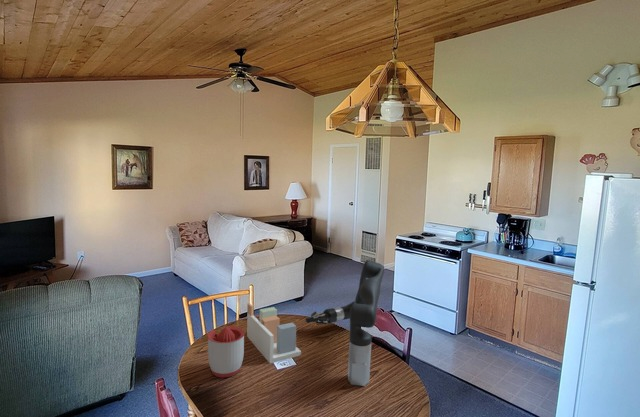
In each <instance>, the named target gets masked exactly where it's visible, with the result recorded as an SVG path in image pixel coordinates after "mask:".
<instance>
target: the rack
mask: <svg viewBox="0 0 640 417" xmlns="http://www.w3.org/2000/svg"><path fill="white" fill-rule="evenodd" d="M253 306H254V305H252V304H251V303H249V302H247V312H246V313H247V316H246V320H247V321H246V324H247V325H246V328H247V329H246V330H247V332H246V337H247V338H248V339H249V341H250V342H251V343H252V344H253V345H254V346H255V347H256V348H257V350H258V351H259V352H260V354H261V355H262V356H263V357H264V358H265V359H266V361H267V362H268V363H269V364H274V363H276V362H281V361H284V360H288V359H292V358H297V357H300V356H302V350H300V349H299V347H297V346H296V350H294V351H290V352H286V353H282V354H280V353H279V352H278V351H277V343H274V335H273V334H272V333H271V332H270V331H269V330H268V329H267V328H266V327H265V326H264V325H263V324H262V323H261V322H260V321H259V319H258V318H257V317H256V316H255V315H254V312H253V311H254V307H253Z"/></svg>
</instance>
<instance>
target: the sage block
mask: <svg viewBox="0 0 640 417" xmlns="http://www.w3.org/2000/svg"><path fill="white" fill-rule="evenodd" d="M271 316H277V317H278V309H277V308H276V307H274V306H272V307H265V308H260V309H259V319H258V320H259V321H260V322H261V318H266V317H271Z"/></svg>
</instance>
